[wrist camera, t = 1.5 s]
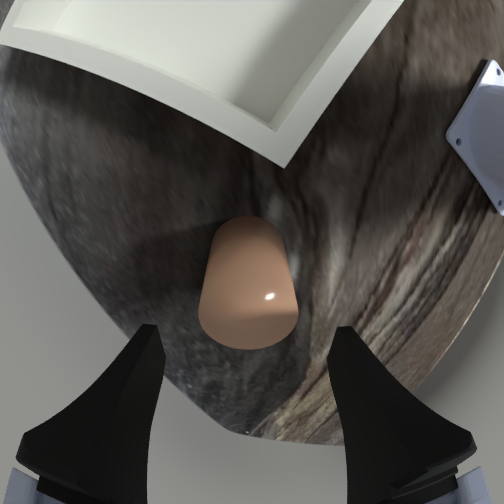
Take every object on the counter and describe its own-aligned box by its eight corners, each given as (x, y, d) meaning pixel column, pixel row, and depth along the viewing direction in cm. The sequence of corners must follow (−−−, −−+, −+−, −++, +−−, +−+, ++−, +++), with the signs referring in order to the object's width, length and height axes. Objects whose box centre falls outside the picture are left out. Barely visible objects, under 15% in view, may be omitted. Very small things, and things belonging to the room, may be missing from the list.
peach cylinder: (297, 237, 17) (318, 303, 12) (259, 288, 19) (263, 359, 14) (234, 202, 16) (228, 259, 11) (199, 259, 18) (183, 328, 13)
